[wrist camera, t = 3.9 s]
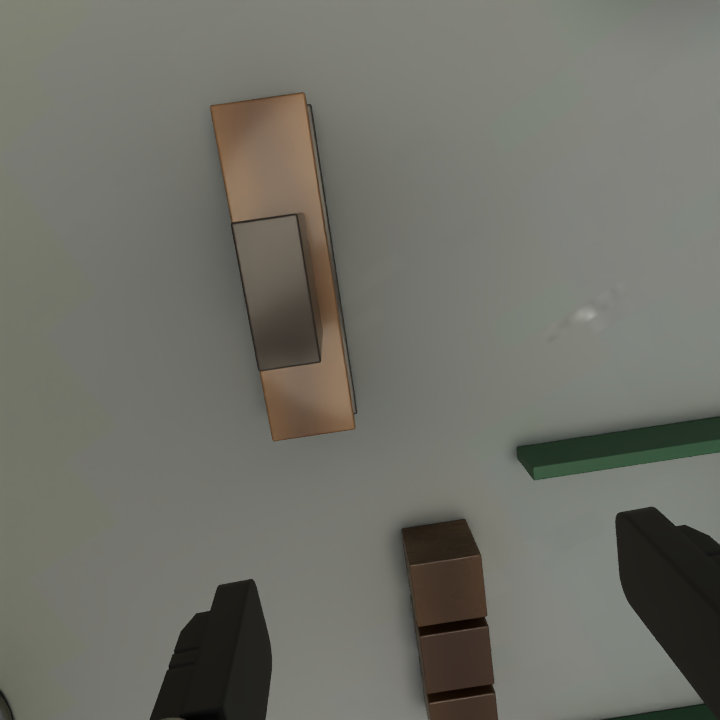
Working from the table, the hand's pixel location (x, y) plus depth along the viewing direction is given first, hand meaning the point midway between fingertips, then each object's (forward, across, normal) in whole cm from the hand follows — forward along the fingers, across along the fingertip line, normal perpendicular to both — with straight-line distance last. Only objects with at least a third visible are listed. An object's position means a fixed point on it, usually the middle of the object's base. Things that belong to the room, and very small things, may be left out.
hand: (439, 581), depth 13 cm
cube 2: (+22, -2, +18) cm, 28 cm away
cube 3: (+22, -2, +13) cm, 26 cm away
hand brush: (+22, +4, -5) cm, 23 cm away
